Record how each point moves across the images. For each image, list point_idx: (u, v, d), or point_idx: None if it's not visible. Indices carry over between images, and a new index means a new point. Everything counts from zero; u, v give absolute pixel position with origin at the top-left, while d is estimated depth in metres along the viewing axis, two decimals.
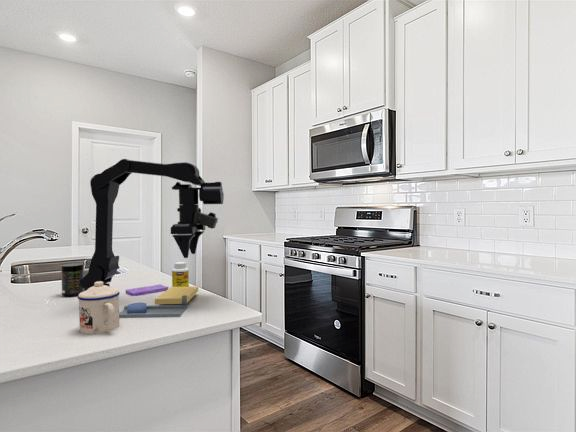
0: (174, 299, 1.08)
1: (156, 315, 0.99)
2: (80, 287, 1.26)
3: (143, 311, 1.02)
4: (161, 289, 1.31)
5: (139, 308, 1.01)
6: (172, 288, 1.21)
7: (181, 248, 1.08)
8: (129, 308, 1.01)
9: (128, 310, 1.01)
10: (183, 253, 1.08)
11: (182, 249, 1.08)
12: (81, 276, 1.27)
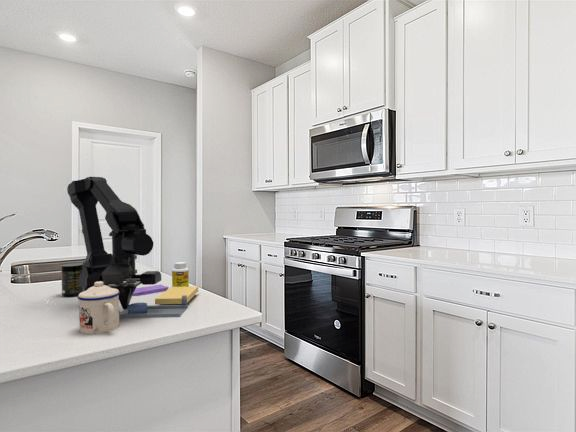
0: (174, 299, 1.08)
1: (156, 315, 0.99)
2: (80, 287, 1.26)
3: (144, 311, 1.02)
4: (161, 289, 1.31)
5: (140, 308, 1.01)
6: (172, 288, 1.21)
7: None
8: (130, 308, 1.01)
9: (129, 310, 1.01)
10: None
11: None
12: None
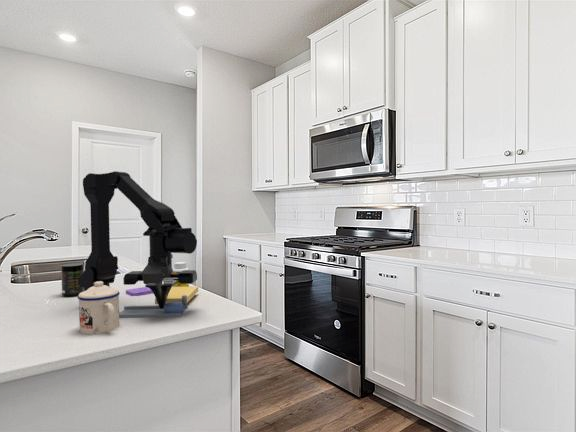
0: (174, 299, 1.08)
1: (156, 315, 0.99)
2: (80, 287, 1.26)
3: (180, 310, 1.03)
4: None
5: (177, 307, 1.02)
6: (172, 288, 1.21)
7: None
8: (167, 307, 1.01)
9: (166, 309, 1.02)
10: None
11: None
12: None
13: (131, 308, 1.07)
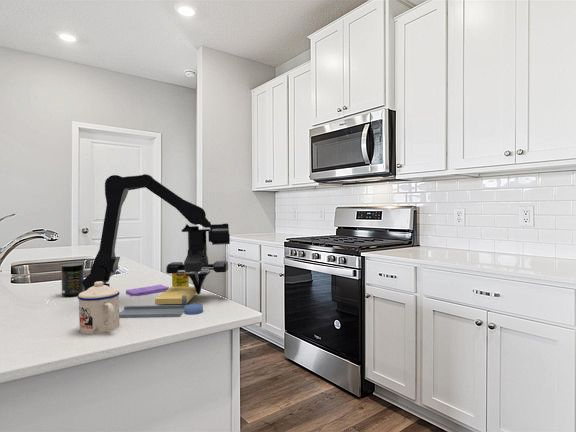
0: (174, 299, 1.08)
1: (156, 315, 0.99)
2: (80, 287, 1.26)
3: (200, 312, 1.03)
4: (161, 289, 1.30)
5: (196, 309, 1.02)
6: (172, 288, 1.21)
7: None
8: (187, 309, 1.01)
9: (186, 311, 1.02)
10: None
11: None
12: (81, 276, 1.27)
13: (131, 308, 1.07)
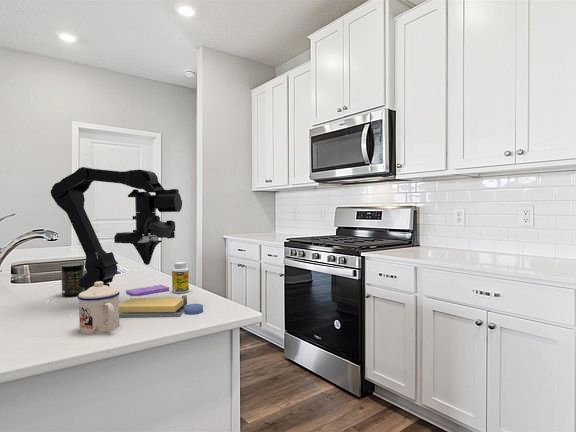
0: (181, 301, 1.05)
1: (156, 315, 0.99)
2: (80, 287, 1.26)
3: (200, 312, 1.02)
4: (162, 289, 1.30)
5: (196, 309, 1.02)
6: (126, 305, 1.01)
7: (141, 255, 1.11)
8: (187, 309, 1.01)
9: (186, 311, 1.02)
10: (143, 260, 1.11)
11: (141, 256, 1.11)
12: (81, 276, 1.27)
13: None
